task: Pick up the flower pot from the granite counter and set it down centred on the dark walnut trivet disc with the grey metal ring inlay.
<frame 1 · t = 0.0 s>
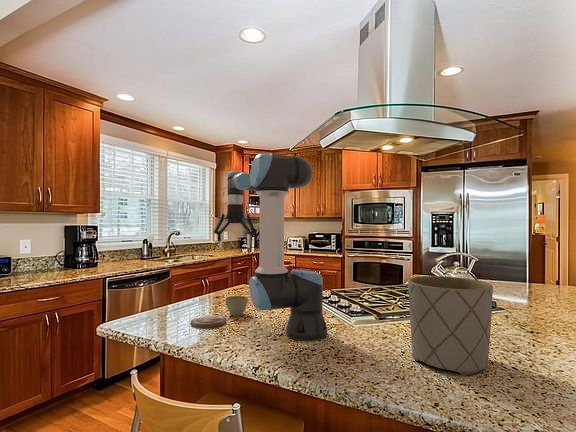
hand: (235, 248, 166), 28 cm above the worktop, fingers open, 13 cm apart
flower pot: (236, 314, 152), on the worktop
planter: (448, 361, 103), on the worktop
trivet: (208, 323, 139), on the worktop
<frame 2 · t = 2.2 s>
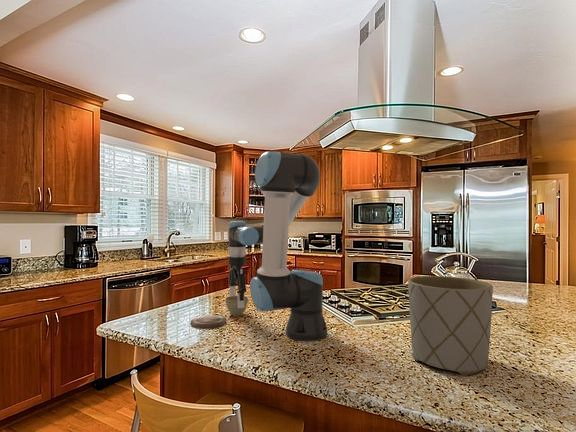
hand: (236, 304, 153), 4 cm above the worktop, fingers open, 13 cm apart
nothing on the worktop moved.
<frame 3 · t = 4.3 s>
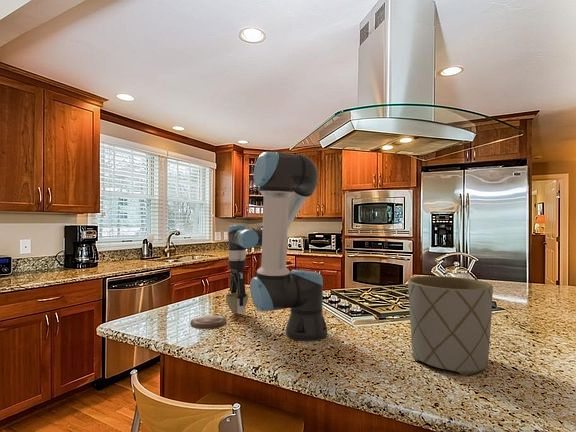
hand: (237, 310, 152), 2 cm above the worktop, fingers closed on flower pot, 10 cm apart
flower pot: (237, 311, 152), point 1 cm above the worktop, touching gripper
everything else where it was.
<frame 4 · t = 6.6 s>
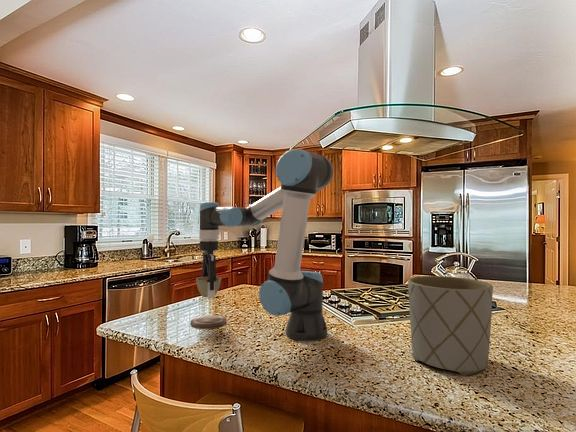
hand: (208, 295, 140), 11 cm above the worktop, fingers closed on flower pot, 10 cm apart
flower pot: (208, 296, 140), point 11 cm above the worktop, touching gripper
everything else where it was.
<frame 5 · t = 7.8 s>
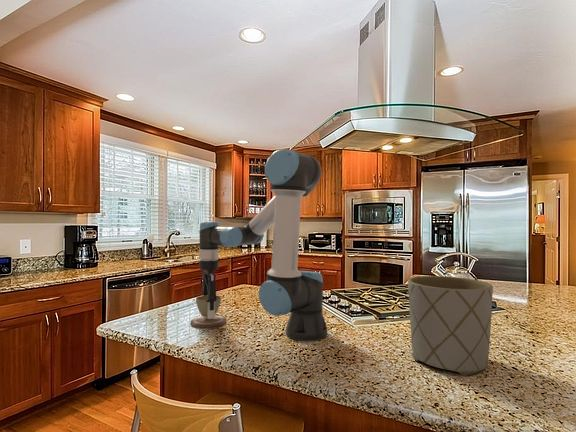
hand: (208, 314, 139), 3 cm above the worktop, fingers closed on flower pot, 10 cm apart
flower pot: (208, 315, 139), point 3 cm above the worktop, touching gripper
everything else where it was.
when the fingers open (3 cm above the worktop, at t = 8.9 s): flower pot stays where it is, resting on trivet.
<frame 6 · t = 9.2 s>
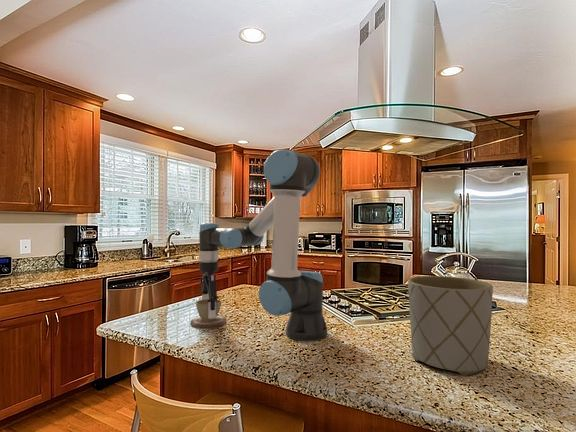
hand: (208, 313, 139), 4 cm above the worktop, fingers open, 13 cm apart
flower pot: (208, 319, 139), point 1 cm above the worktop, touching trivet
everything else where it was.
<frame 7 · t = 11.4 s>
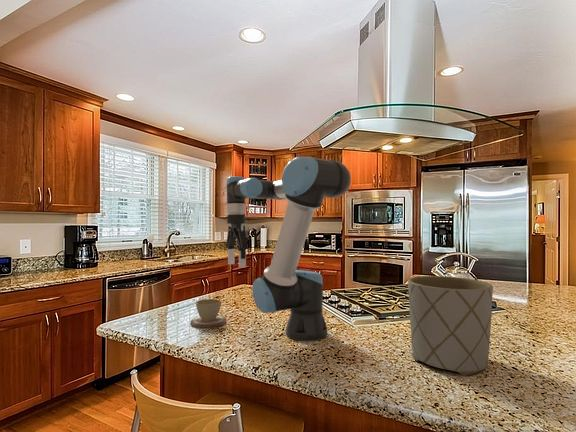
hand: (236, 265, 143), 23 cm above the worktop, fingers open, 13 cm apart
nothing on the worktop moved.
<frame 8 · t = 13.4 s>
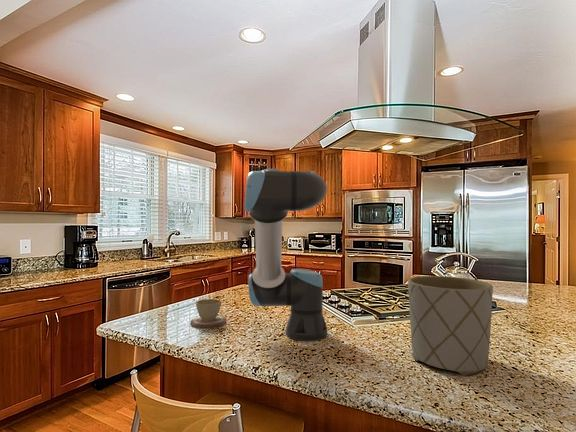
hand: (270, 254, 148), 27 cm above the worktop, fingers open, 13 cm apart
nothing on the worktop moved.
at the end: flower pot inside the target area on the trivet (0.1 cm from its centre), point 1.3 cm above the trivet's base; flower pot tilted 0°; the gripper is holding nothing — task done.
